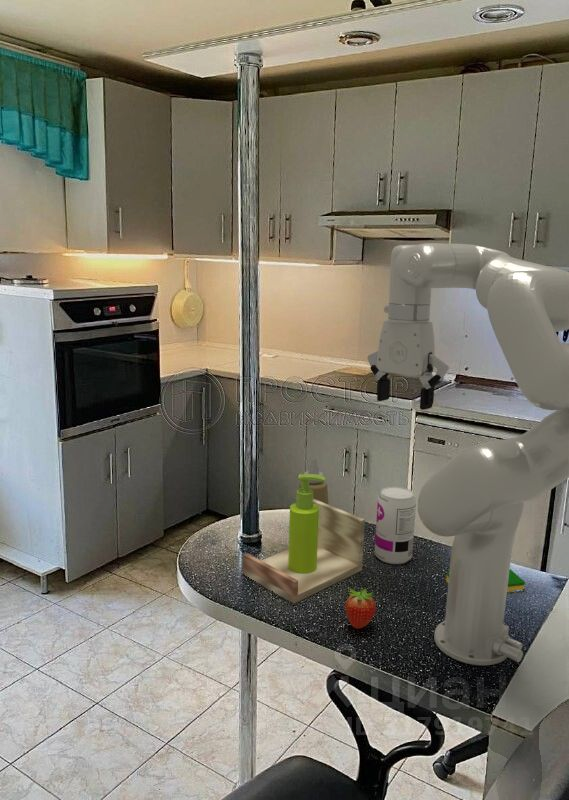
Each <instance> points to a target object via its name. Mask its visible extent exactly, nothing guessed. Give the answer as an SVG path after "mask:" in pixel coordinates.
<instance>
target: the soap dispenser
mask: <svg viewBox="0 0 569 800" xmlns="http://www.w3.org/2000/svg"><path fill="white" fill-rule="evenodd" d="M310 480H315V481H321V482H326V477H325V475H324V476H320V475H316V474H304V473H299V474H298V478H297V481H300V482H301V488H300V489H299V488H298V489H296V493H295V494H296V497H295V498H296V499H295V500H296V502H294V503H292V504H290V506H289V527H288V529H289V530H288V532H289V533H288V549H289V557H288V567H289V569H290V570H291V571H293V572H296V573H301V574H306V573H311V572H313V571H315V570H316V568H317V547H318V521H319V507H318V506H317V505H315V504H313V490H311V489H309V483H310Z"/></svg>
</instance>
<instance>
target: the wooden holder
mask: <svg viewBox="0 0 569 800" xmlns="http://www.w3.org/2000/svg"><path fill="white" fill-rule="evenodd" d="M313 504H315V505H317V506H318V507H319V521H318V547H317V568H316V570H315V571H313V572H311V573H306V574H301V573H296V572H293V571H291V570H290V569H289V567H288V557H289V548H288V549H286V550H282V551H281V552H279V553H276V554H273V555H270V556H269V557H266V558H264V559H261V560H260V559H259V558H257V557H255V556H254V555H251V554H250V553H248V552H245V553H243V554H242V575H243V574H244V575H245V577H246V576H247V578H248V577H249V578H248V579H250V580H251V579H252V581H253V580H254V581H253V582H255V581H256V582H255V583H257V584H258V583H259V585H260V584H261V585H260V586H262V587H264V588H265V589H267V590H269V591H270V592H272V591H273V593H274V594H276V595H278V596H279V597H281V598H283V599H285V600H286V601H288V602H290V603H291V604H294V605H295V604H296V603H298V602H301V601H303V600H304V599H307V598H308V597H312V596H313V595H314V594H316V593H318V592H321V591H322V590H325V589H327V588H329V587H331V586H333V585H335V584H337V583H339V582H342V581H344V580H345V579H347V578H350V577H351V576H353V575H356V574H357V573H359V572H361V571H363V557H364V544H365V543H364V541H365V540H364V539H365V523H366V521H365V518H363V517H360V516H358V515H355V514H353V513H349V512H347V511H345V510H343V509H340V508H337V507H335V506H332V505H330V504H329V503H328V504H325V503H323V502H320V501H318V500H316V499H313ZM244 575H243V576H244Z"/></svg>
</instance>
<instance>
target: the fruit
mask: <svg viewBox="0 0 569 800" xmlns="http://www.w3.org/2000/svg"><path fill="white" fill-rule="evenodd" d="M350 592H351V593H350ZM374 593H375V592H374V591H372V592H369V593H367V588H364V589H363V590H362V587H360V591H355V590H353V589H352V588H351V587H349V592H348V594H349V596H348V598H347V600H346V601H345V614H346V618H347V619H348V622H349V623H350V625H351V626H352V627H353V628H354V629H356V630H359V629H363V628H365V627H366V626H367V625H368V624H369V623H370V622H371V621H372V620H373V618H374V617H375V615H376V610H377V606H376V602H375V600H374V598H373V596H371V595H372V594H374Z"/></svg>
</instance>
